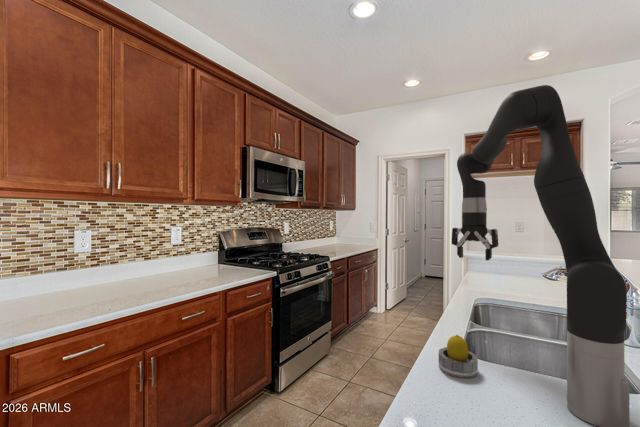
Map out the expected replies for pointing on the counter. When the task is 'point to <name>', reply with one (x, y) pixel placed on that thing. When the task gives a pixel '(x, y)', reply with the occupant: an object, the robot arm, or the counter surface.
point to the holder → (458, 365)
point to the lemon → (457, 348)
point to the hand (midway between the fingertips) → (474, 258)
